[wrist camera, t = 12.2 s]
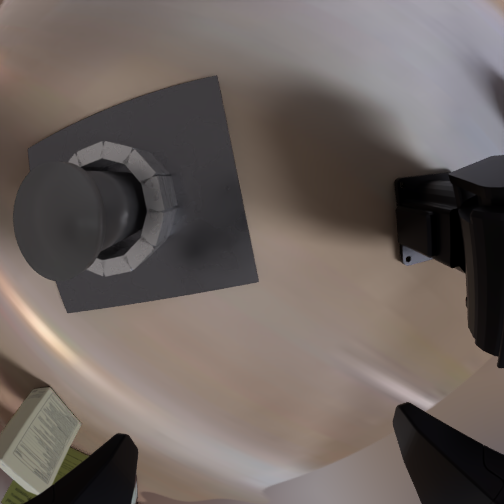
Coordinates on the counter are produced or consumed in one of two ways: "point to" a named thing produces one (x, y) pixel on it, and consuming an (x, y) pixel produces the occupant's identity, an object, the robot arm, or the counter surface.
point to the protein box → (19, 495)
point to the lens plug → (74, 216)
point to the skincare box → (37, 440)
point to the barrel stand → (162, 197)
